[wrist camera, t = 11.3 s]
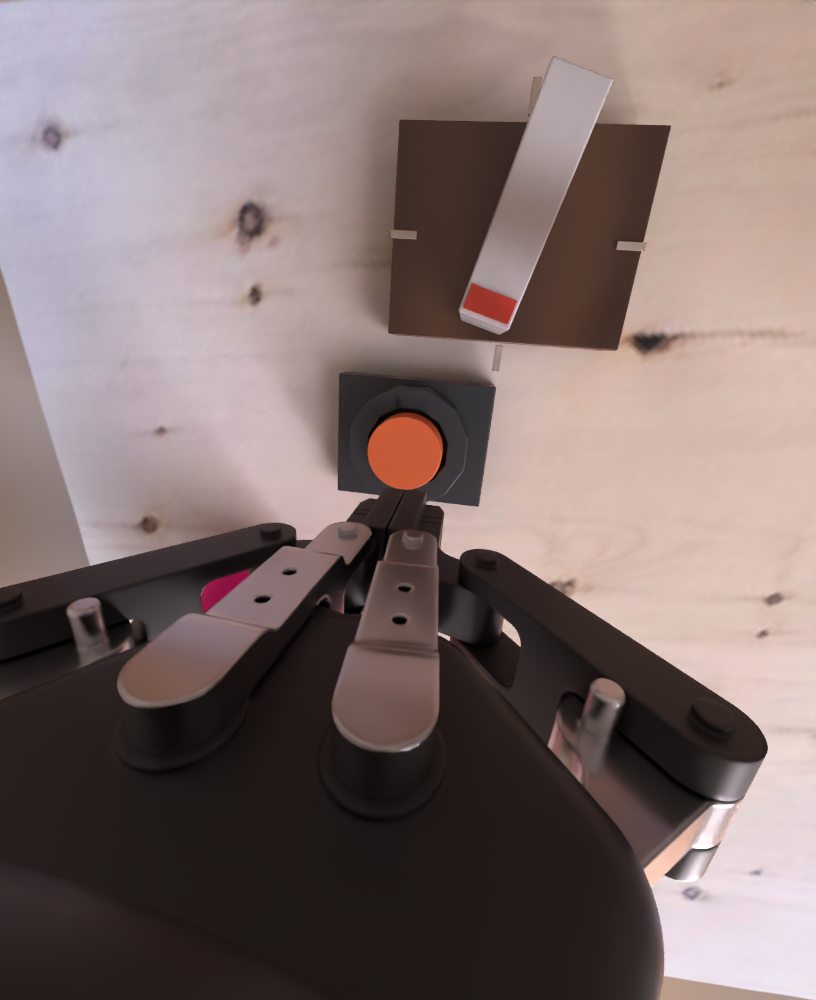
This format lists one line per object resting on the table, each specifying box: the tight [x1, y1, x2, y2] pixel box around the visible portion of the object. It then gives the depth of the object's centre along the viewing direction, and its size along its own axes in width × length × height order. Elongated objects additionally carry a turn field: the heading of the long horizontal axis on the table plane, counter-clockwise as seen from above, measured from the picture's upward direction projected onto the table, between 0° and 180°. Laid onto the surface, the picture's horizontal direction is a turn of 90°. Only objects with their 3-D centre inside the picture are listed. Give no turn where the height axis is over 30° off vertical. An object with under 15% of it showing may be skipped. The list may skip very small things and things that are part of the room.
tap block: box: [388, 77, 671, 371], centre depth 23 cm, size 13×13×3 cm
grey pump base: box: [338, 372, 496, 507], centre depth 27 cm, size 10×8×4 cm
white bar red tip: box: [459, 56, 613, 334], centre depth 19 cm, size 9×2×6 cm, turn 161°
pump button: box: [367, 412, 443, 489], centre depth 25 cm, size 4×4×2 cm
